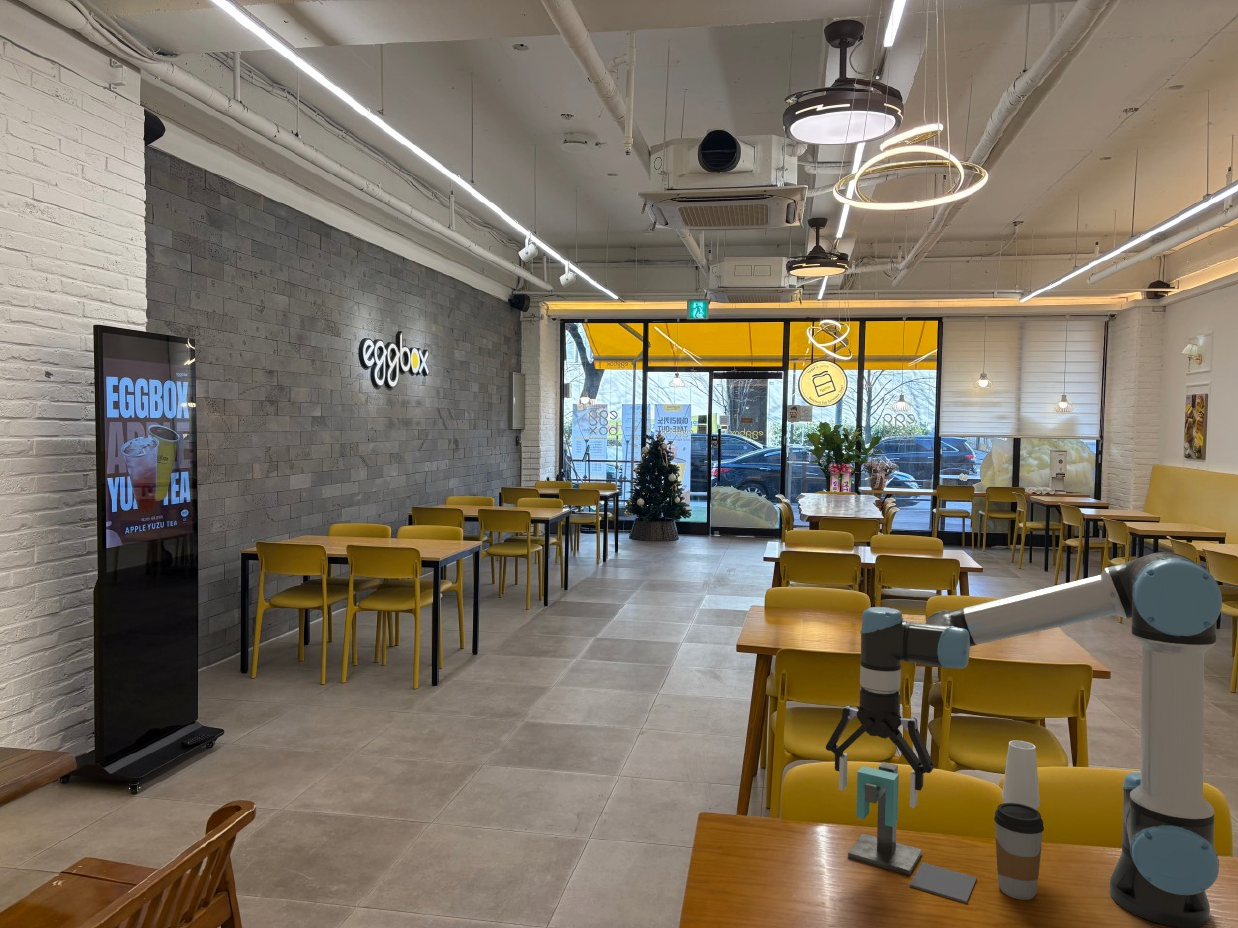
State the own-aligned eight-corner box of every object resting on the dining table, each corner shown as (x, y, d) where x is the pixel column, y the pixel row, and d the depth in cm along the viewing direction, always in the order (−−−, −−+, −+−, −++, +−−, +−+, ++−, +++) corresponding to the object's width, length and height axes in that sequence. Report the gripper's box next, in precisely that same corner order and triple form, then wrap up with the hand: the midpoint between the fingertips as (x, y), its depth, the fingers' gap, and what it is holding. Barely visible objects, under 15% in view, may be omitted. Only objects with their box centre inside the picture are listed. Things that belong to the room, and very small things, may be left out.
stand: (921, 854, 164) (923, 765, 163) (900, 890, 150) (903, 793, 150) (862, 837, 170) (864, 752, 170) (837, 871, 157) (839, 778, 156)
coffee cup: (1048, 906, 146) (1050, 823, 145) (998, 900, 147) (1000, 818, 147) (1034, 882, 154) (1036, 804, 154) (987, 876, 155) (989, 799, 155)
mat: (976, 879, 154) (976, 877, 154) (966, 903, 146) (966, 901, 146) (922, 863, 160) (922, 861, 160) (909, 886, 152) (909, 884, 152)
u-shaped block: (897, 820, 157) (898, 774, 157) (892, 826, 154) (894, 780, 154) (861, 810, 161) (862, 765, 161) (856, 817, 158) (857, 771, 158)
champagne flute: (1029, 877, 156) (1032, 753, 155) (994, 863, 161) (997, 743, 160) (1043, 865, 160) (1046, 745, 160) (1009, 852, 165) (1012, 736, 165)
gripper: (952, 695, 153) (949, 805, 154) (824, 673, 167) (821, 774, 167) (943, 705, 147) (940, 820, 147) (811, 681, 161) (808, 787, 161)
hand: (877, 796), depth 157 cm, fingers open, 13 cm apart
